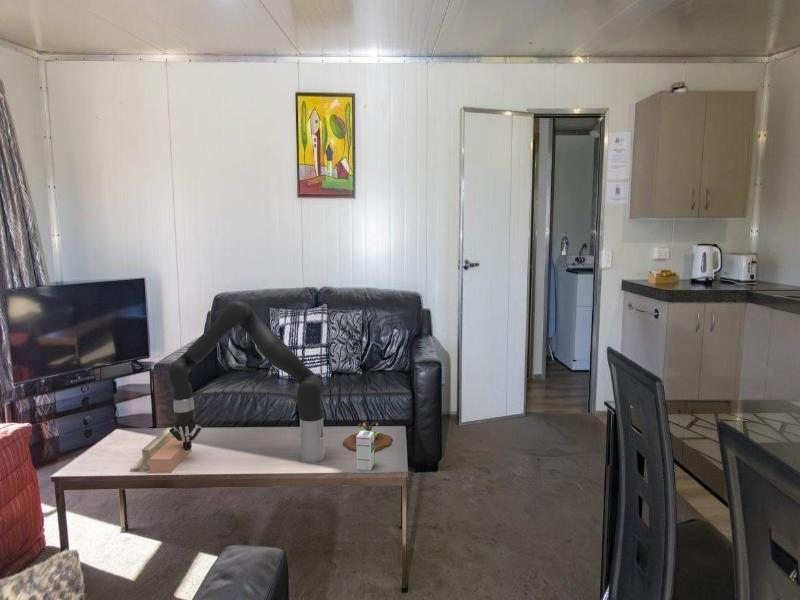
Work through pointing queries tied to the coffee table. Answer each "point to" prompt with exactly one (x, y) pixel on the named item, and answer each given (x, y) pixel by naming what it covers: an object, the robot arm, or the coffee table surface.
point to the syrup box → (365, 450)
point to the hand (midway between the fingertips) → (187, 449)
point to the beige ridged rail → (151, 451)
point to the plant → (379, 439)
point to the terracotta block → (168, 457)
